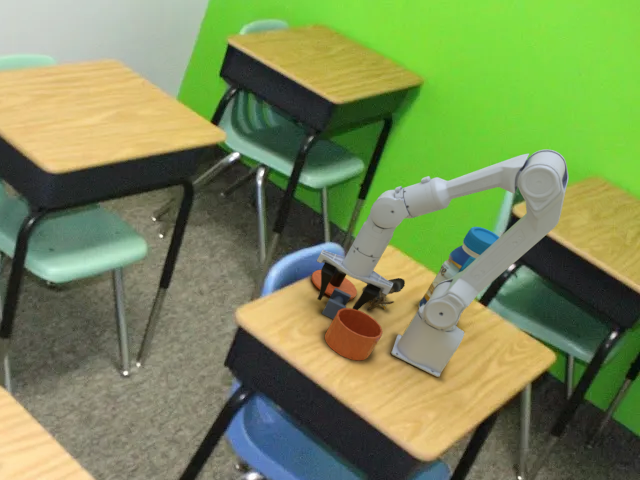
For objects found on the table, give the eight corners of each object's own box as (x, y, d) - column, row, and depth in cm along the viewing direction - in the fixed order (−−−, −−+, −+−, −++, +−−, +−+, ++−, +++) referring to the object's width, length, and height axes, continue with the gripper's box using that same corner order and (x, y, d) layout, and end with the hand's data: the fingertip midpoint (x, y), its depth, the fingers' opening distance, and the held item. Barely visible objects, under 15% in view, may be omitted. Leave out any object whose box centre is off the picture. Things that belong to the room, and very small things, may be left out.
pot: (372, 345, 178) (386, 323, 175) (364, 367, 171) (378, 344, 168) (330, 323, 180) (342, 302, 177) (320, 344, 173) (332, 322, 170)
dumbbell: (327, 300, 187) (335, 287, 185) (343, 308, 186) (351, 295, 184) (321, 313, 182) (328, 300, 180) (337, 321, 181) (345, 308, 179)
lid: (358, 288, 194) (368, 271, 191) (349, 308, 187) (359, 290, 184) (315, 268, 196) (325, 250, 194) (305, 286, 189) (314, 269, 186)
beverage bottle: (444, 331, 189) (497, 251, 177) (409, 308, 193) (459, 228, 181) (462, 321, 194) (514, 242, 183) (427, 298, 199) (477, 220, 187)
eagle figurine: (396, 319, 186) (409, 295, 191) (391, 289, 182) (404, 265, 188) (358, 318, 190) (371, 294, 196) (352, 288, 187) (366, 265, 193)
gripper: (407, 258, 177) (374, 313, 185) (335, 224, 180) (306, 280, 188) (401, 272, 171) (367, 329, 179) (328, 238, 175) (298, 295, 183)
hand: (335, 305), depth 183 cm, fingers open, 6 cm apart
